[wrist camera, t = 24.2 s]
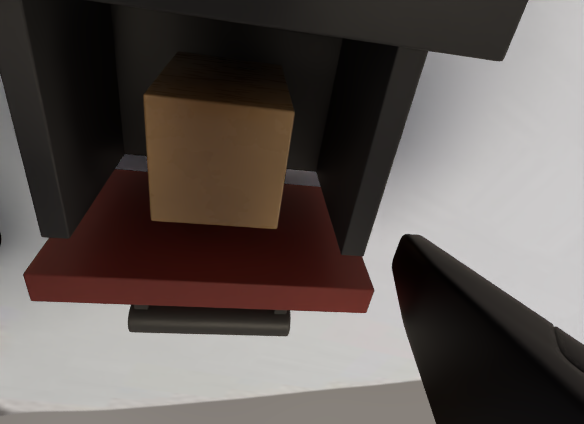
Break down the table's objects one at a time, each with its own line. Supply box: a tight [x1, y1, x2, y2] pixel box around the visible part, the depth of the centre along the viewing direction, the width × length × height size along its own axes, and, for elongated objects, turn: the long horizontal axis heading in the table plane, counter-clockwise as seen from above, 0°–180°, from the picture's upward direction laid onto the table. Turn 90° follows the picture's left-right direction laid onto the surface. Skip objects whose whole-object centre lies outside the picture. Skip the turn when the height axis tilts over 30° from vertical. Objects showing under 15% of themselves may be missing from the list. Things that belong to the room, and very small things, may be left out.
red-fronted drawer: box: [0, 0, 428, 336], centre depth 14 cm, size 18×11×7 cm, turn 171°
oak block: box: [143, 52, 295, 229], centre depth 14 cm, size 4×4×6 cm
